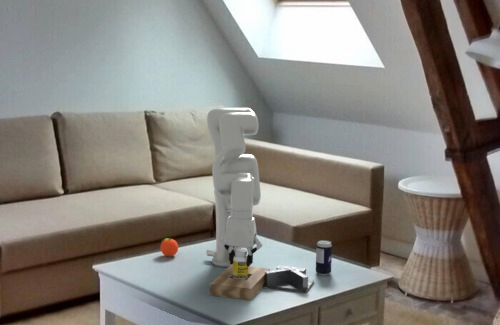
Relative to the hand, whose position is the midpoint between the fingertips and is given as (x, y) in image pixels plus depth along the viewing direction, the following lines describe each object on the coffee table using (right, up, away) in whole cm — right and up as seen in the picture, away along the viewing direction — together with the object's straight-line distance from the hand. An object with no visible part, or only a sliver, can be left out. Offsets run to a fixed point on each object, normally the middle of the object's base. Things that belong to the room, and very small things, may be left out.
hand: (240, 263), depth 258 cm
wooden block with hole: (0, -8, +1) cm, 8 cm away
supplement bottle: (0, -5, +1) cm, 5 cm away
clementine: (-29, -2, +35) cm, 45 cm away
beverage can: (+30, -6, +16) cm, 35 cm away
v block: (+17, -8, +4) cm, 19 cm away
